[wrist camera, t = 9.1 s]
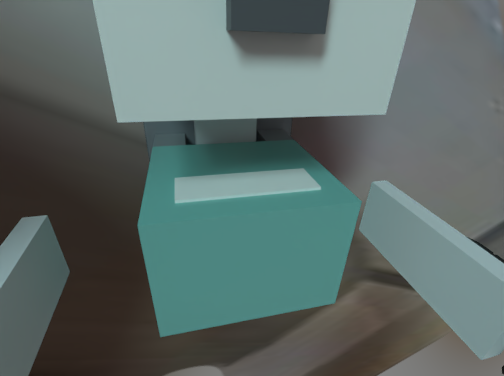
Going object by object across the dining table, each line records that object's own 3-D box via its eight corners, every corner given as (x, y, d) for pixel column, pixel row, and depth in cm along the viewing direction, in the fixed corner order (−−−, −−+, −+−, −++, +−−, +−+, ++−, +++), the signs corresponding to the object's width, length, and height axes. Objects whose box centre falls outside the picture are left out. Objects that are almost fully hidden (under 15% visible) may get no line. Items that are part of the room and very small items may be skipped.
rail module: (276, 203, 18) (334, 303, 12) (166, 214, 17) (160, 337, 10) (282, 127, 16) (362, 199, 9) (154, 132, 14) (136, 222, 8)
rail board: (272, 241, 22) (333, 375, 13) (167, 255, 20) (161, 419, 12) (300, -80, 13) (551, -300, 4) (112, -106, 11) (-98, -567, 3)
